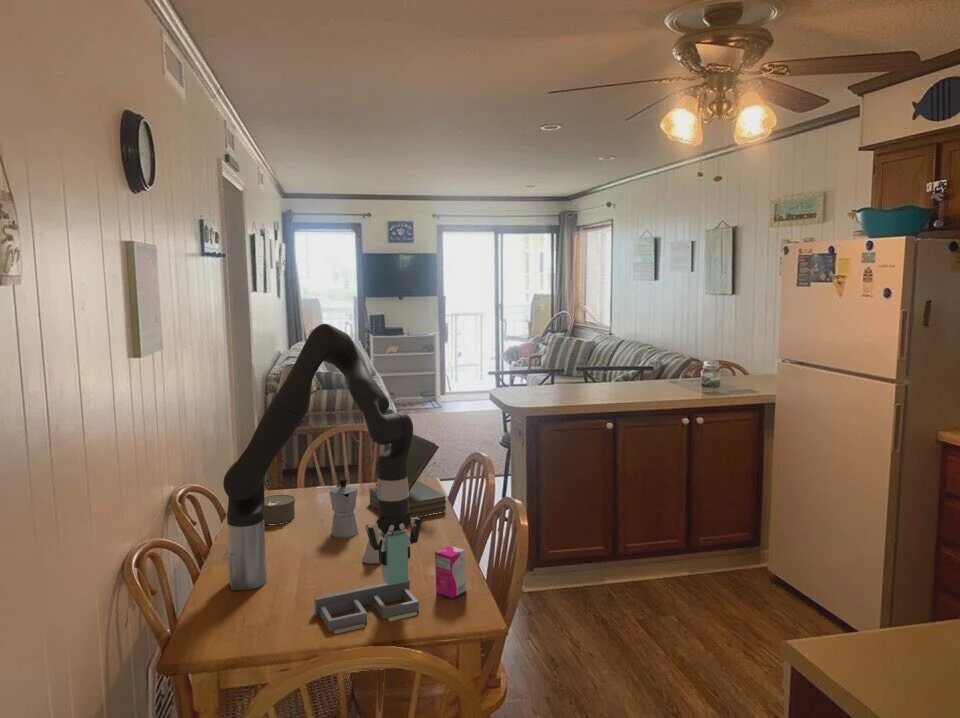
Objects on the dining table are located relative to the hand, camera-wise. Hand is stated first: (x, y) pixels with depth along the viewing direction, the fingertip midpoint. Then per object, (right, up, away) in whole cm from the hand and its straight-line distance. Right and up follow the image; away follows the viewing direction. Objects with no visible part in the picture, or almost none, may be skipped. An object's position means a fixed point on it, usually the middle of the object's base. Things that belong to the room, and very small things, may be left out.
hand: (394, 562), depth 167 cm
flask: (-10, -9, +31) cm, 33 cm away
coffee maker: (-23, -6, +53) cm, 58 cm away
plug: (0, -4, 0) cm, 4 cm away
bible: (-5, -4, +77) cm, 77 cm away
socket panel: (-6, -12, -2) cm, 13 cm away
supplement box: (+13, -11, +9) cm, 19 cm away
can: (-48, -5, +66) cm, 82 cm away
